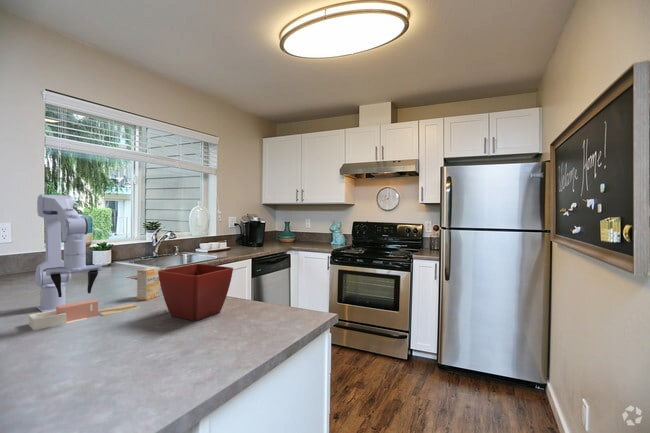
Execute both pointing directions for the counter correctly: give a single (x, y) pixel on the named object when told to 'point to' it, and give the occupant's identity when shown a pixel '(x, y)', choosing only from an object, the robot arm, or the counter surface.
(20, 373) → the counter surface
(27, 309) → the counter surface
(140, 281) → the supplement box
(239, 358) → the counter surface
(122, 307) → the cork mat
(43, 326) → the dispenser sleeve
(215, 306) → the plant pot
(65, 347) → the counter surface
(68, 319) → the pink block
